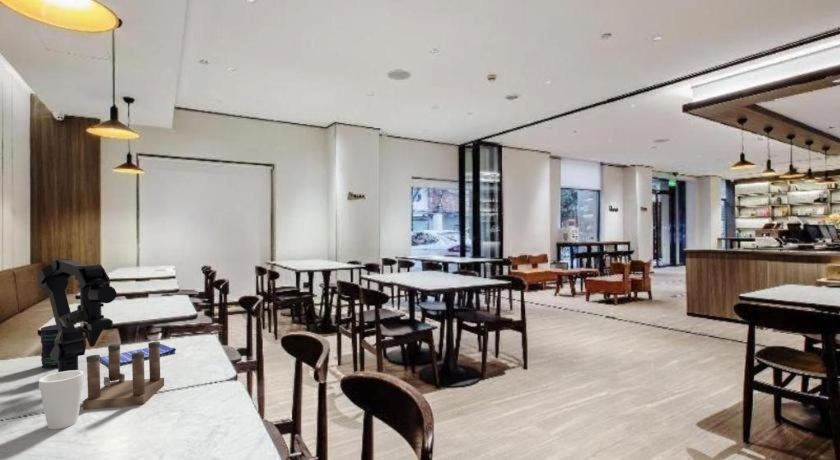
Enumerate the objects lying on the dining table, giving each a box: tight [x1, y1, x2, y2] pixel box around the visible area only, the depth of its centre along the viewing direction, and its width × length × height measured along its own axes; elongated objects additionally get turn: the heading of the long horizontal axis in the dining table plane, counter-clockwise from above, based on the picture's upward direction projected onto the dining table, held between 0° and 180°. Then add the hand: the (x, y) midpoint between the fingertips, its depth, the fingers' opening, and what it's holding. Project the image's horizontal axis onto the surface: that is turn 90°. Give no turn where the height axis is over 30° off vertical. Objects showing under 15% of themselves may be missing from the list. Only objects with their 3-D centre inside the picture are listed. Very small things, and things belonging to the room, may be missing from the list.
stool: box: [82, 341, 165, 410], centre depth 137 cm, size 17×17×15 cm
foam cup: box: [38, 369, 85, 430], centre depth 118 cm, size 10×9×13 cm
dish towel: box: [100, 343, 177, 367], centre depth 180 cm, size 17×24×3 cm
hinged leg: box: [107, 343, 121, 382], centre depth 141 cm, size 3×3×11 cm
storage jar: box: [40, 324, 58, 370], centre depth 170 cm, size 10×10×15 cm
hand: (92, 346), depth 151 cm, fingers closed
